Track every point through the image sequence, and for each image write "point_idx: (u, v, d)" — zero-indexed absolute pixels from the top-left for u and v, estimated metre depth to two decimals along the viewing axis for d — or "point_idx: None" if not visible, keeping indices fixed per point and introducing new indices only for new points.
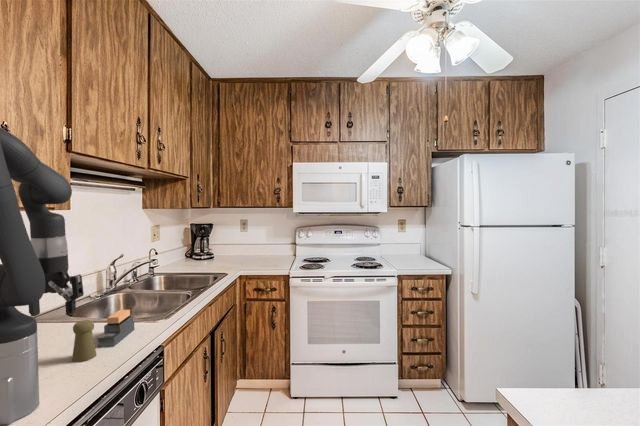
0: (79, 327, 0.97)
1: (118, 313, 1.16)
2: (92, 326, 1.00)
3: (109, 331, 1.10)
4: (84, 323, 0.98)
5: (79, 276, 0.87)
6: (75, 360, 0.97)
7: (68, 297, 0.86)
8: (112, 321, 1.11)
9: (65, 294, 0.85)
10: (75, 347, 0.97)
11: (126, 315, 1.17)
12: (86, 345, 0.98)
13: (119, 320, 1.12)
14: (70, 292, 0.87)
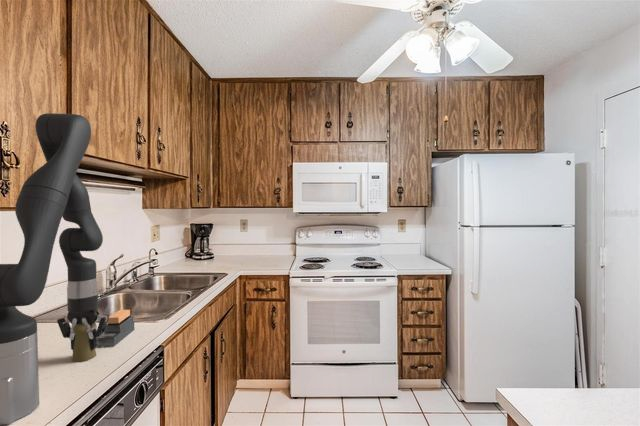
0: (78, 327, 0.97)
1: (118, 313, 1.16)
2: (92, 326, 0.99)
3: (109, 331, 1.10)
4: None
5: (107, 317, 1.00)
6: (75, 360, 0.97)
7: (92, 335, 0.99)
8: (112, 321, 1.11)
9: (90, 332, 0.98)
10: (75, 347, 0.97)
11: (126, 315, 1.17)
12: (86, 345, 0.98)
13: (119, 320, 1.12)
14: (94, 330, 1.00)
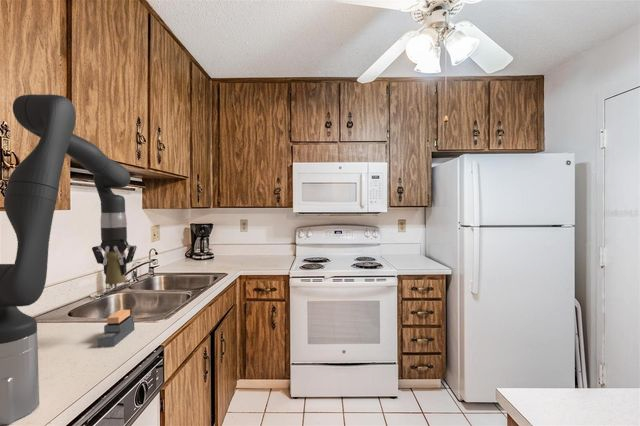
0: (111, 254, 1.10)
1: (118, 313, 1.16)
2: (122, 254, 1.13)
3: (109, 331, 1.10)
4: None
5: (135, 247, 1.14)
6: (108, 282, 1.11)
7: (122, 262, 1.12)
8: (112, 321, 1.11)
9: (121, 259, 1.12)
10: (108, 271, 1.11)
11: (126, 315, 1.17)
12: (117, 269, 1.12)
13: (119, 320, 1.12)
14: (124, 258, 1.14)
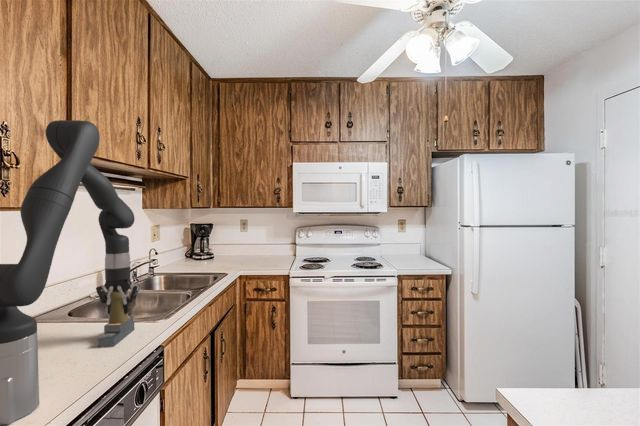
0: (115, 294, 1.12)
1: None
2: (126, 293, 1.15)
3: (109, 331, 1.10)
4: None
5: (138, 286, 1.16)
6: (112, 322, 1.12)
7: (126, 301, 1.14)
8: None
9: (124, 298, 1.14)
10: (112, 311, 1.13)
11: None
12: (121, 309, 1.13)
13: None
14: (127, 297, 1.16)
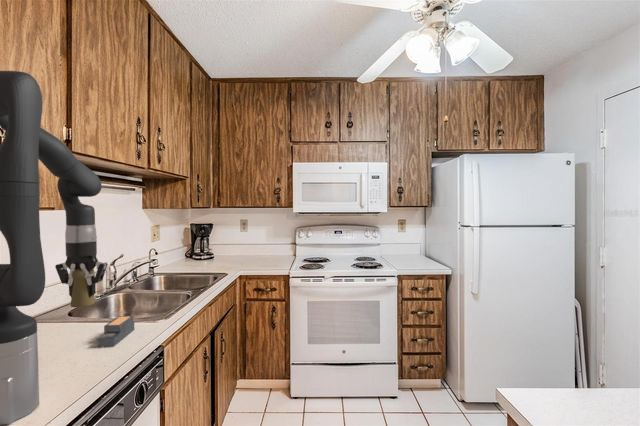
0: (77, 272, 0.96)
1: (118, 320, 1.16)
2: (91, 272, 0.99)
3: (109, 331, 1.10)
4: None
5: (106, 264, 1.00)
6: (73, 305, 0.96)
7: (90, 281, 0.98)
8: None
9: (89, 278, 0.98)
10: (73, 292, 0.97)
11: None
12: (84, 290, 0.97)
13: None
14: (93, 277, 1.00)
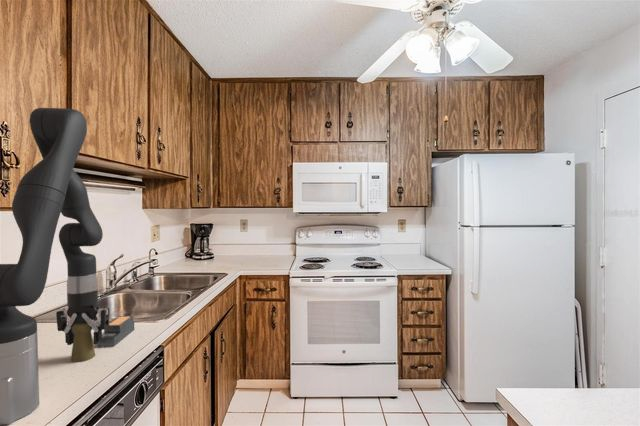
0: (77, 327, 0.97)
1: (118, 320, 1.16)
2: None
3: (109, 331, 1.10)
4: (83, 323, 0.98)
5: (107, 309, 1.00)
6: (74, 360, 0.97)
7: (96, 328, 0.99)
8: None
9: (94, 325, 0.98)
10: (74, 347, 0.97)
11: None
12: (85, 345, 0.98)
13: None
14: (98, 323, 1.00)
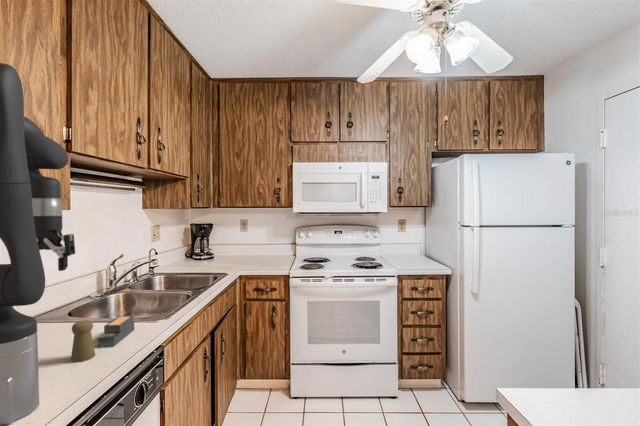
0: (77, 327, 0.97)
1: (118, 320, 1.16)
2: (91, 326, 0.99)
3: (109, 331, 1.10)
4: (83, 323, 0.98)
5: (71, 235, 0.96)
6: (74, 360, 0.97)
7: (61, 253, 0.94)
8: None
9: (58, 251, 0.94)
10: (74, 347, 0.97)
11: None
12: (85, 345, 0.98)
13: None
14: (63, 250, 0.96)
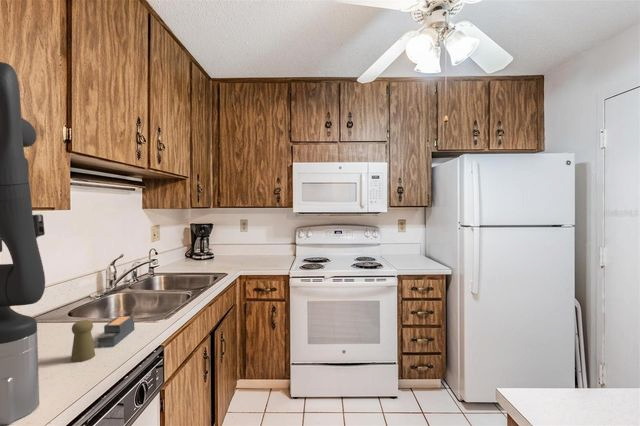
0: (77, 327, 0.97)
1: (118, 320, 1.16)
2: (91, 326, 0.99)
3: (109, 331, 1.10)
4: (83, 323, 0.98)
5: (40, 215, 0.92)
6: (74, 360, 0.97)
7: None
8: None
9: None
10: (74, 347, 0.97)
11: None
12: (85, 345, 0.98)
13: None
14: None
